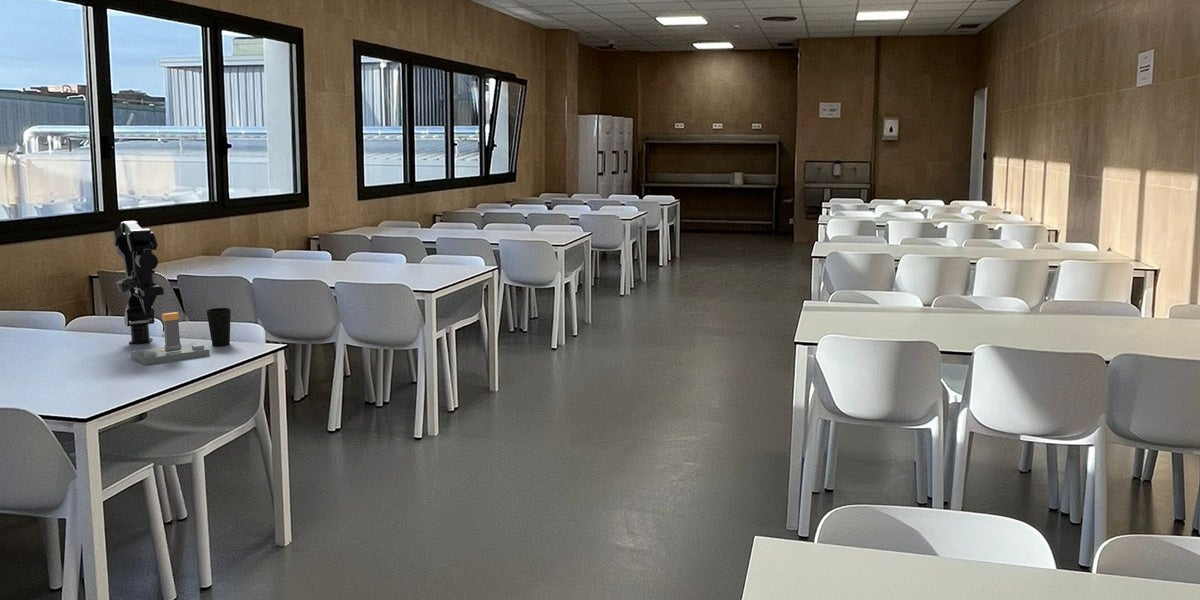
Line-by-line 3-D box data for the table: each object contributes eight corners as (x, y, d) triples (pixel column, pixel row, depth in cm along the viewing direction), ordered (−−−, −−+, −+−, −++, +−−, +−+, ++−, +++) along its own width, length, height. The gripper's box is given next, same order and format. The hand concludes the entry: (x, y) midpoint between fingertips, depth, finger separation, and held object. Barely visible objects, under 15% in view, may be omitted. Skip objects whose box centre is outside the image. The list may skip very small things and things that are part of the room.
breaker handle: (164, 351, 330) (161, 313, 328) (179, 349, 333) (176, 312, 331) (167, 352, 328) (164, 314, 326) (181, 350, 331) (178, 313, 329)
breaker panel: (131, 357, 332) (130, 347, 331) (194, 348, 345) (193, 339, 344) (145, 365, 322) (144, 355, 321) (209, 355, 334) (209, 345, 334)
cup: (204, 345, 349) (201, 310, 347) (221, 341, 356) (219, 307, 354) (220, 348, 345) (217, 312, 343) (238, 343, 352) (235, 308, 350)
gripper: (108, 267, 341) (112, 313, 343) (126, 272, 327) (130, 321, 329) (143, 263, 348) (147, 309, 350) (162, 269, 334) (166, 316, 337)
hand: (147, 314), depth 341 cm, fingers closed
